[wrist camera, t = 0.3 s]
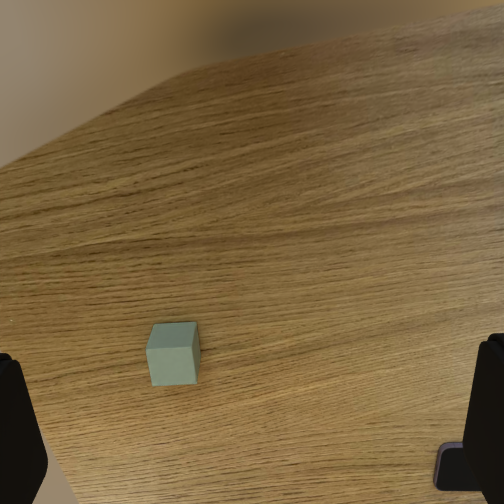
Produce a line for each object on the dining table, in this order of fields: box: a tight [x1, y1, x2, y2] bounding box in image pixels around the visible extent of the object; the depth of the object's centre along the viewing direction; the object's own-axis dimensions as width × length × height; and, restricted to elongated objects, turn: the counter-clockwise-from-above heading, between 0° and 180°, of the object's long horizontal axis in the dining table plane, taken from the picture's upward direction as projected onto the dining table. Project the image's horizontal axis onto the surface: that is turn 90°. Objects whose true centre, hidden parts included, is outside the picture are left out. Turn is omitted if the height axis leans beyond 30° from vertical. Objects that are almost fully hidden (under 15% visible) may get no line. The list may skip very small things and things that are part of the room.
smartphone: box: [434, 443, 481, 491], centre depth 57 cm, size 7×1×15 cm
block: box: [145, 322, 201, 386], centre depth 48 cm, size 4×4×4 cm
